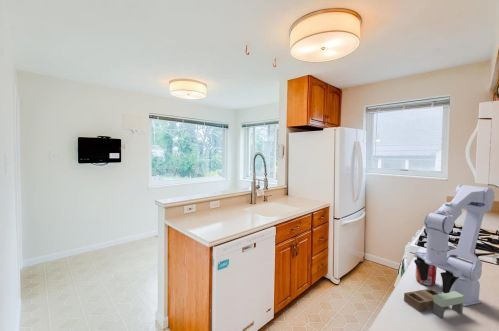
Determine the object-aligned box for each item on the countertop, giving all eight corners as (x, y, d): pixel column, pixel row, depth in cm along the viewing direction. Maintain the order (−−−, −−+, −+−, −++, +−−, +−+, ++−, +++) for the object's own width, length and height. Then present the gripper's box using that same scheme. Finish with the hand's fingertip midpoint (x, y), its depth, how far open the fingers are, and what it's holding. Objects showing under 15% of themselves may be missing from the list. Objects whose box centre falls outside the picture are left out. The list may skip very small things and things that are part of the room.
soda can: (426, 277, 105) (428, 251, 104) (439, 287, 98) (441, 259, 97) (411, 277, 105) (412, 251, 104) (423, 287, 98) (425, 259, 97)
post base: (430, 295, 92) (430, 288, 92) (446, 305, 86) (447, 297, 86) (403, 300, 88) (404, 293, 88) (418, 311, 83) (419, 303, 83)
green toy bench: (453, 308, 85) (454, 290, 84) (463, 313, 82) (464, 295, 81) (432, 312, 82) (433, 294, 82) (441, 318, 79) (442, 300, 79)
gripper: (408, 241, 87) (406, 276, 88) (450, 258, 73) (447, 300, 74) (423, 239, 89) (421, 274, 90) (467, 256, 75) (464, 297, 76)
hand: (434, 286), depth 82 cm, fingers open, 7 cm apart
